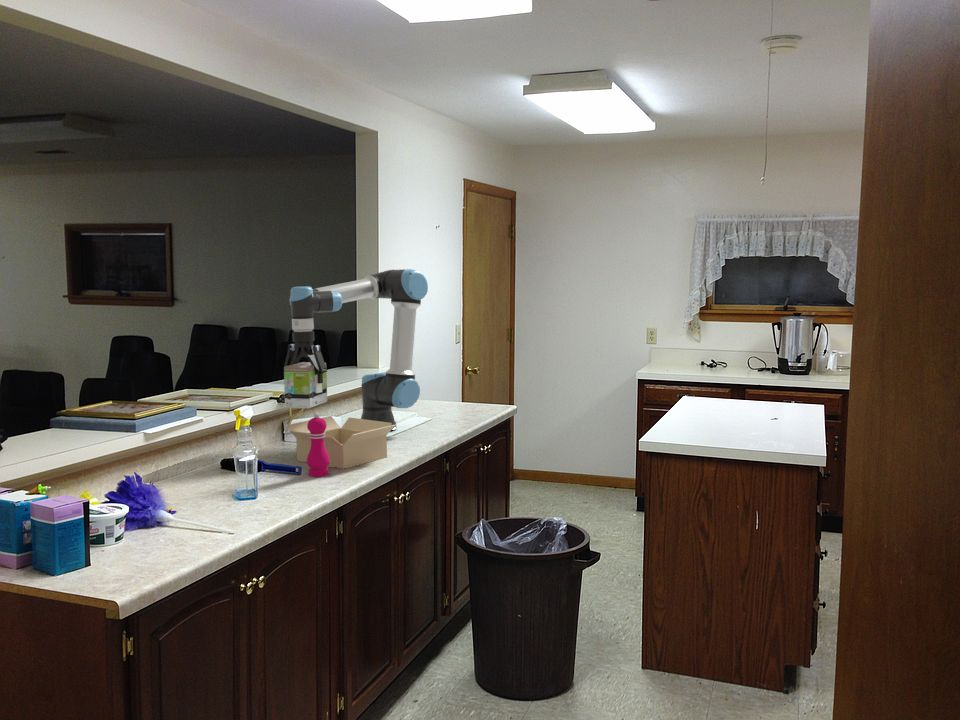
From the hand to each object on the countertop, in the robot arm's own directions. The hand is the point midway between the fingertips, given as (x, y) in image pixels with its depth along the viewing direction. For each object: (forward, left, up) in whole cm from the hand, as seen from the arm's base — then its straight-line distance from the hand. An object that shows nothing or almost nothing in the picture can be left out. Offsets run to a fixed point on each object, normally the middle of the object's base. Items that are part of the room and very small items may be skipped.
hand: (306, 391), depth 298 cm
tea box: (0, 0, -5) cm, 5 cm away
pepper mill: (+21, +28, -22) cm, 41 cm away
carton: (+1, +18, -22) cm, 28 cm away
